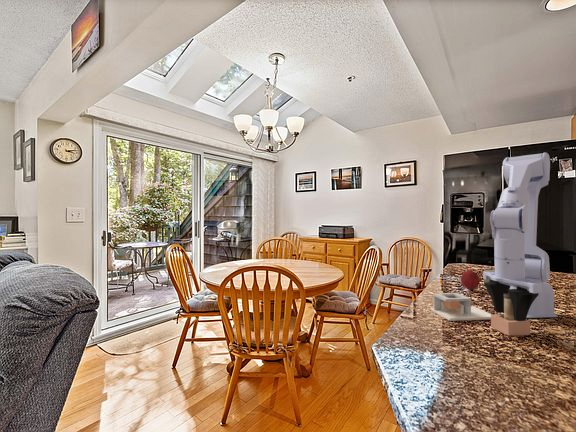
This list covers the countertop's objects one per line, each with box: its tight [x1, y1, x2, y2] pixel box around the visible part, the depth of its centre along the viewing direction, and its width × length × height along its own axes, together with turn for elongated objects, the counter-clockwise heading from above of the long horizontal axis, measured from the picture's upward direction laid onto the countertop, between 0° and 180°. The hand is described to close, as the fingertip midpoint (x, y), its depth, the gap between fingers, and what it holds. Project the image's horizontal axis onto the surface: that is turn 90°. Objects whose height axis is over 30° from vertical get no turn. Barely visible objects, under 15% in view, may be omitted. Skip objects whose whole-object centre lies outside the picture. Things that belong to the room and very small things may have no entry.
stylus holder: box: [490, 313, 531, 337], centre depth 69 cm, size 5×5×3 cm
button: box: [444, 301, 460, 309], centre depth 80 cm, size 3×3×2 cm
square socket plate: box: [429, 292, 493, 322], centre depth 81 cm, size 13×9×5 cm
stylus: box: [503, 293, 515, 321], centre depth 69 cm, size 2×2×8 cm
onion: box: [460, 267, 481, 291], centre depth 106 cm, size 6×6×8 cm
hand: (509, 316), depth 69 cm, fingers open, 5 cm apart
